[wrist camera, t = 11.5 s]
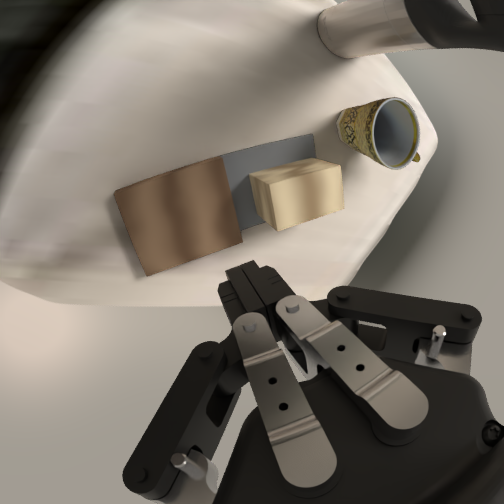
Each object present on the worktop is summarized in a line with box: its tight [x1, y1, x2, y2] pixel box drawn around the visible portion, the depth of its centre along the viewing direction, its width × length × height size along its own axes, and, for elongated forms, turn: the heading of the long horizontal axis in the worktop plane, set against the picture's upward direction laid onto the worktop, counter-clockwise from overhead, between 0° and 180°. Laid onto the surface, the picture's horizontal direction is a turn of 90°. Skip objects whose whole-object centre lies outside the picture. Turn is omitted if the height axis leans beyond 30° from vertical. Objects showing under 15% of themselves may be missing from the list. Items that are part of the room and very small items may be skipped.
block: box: [249, 158, 344, 231], centre depth 38 cm, size 10×6×7 cm, turn 102°
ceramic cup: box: [336, 97, 420, 170], centre depth 37 cm, size 13×10×10 cm
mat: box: [220, 134, 316, 230], centre depth 40 cm, size 14×11×1 cm
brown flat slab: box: [114, 156, 243, 276], centre depth 37 cm, size 14×12×2 cm
